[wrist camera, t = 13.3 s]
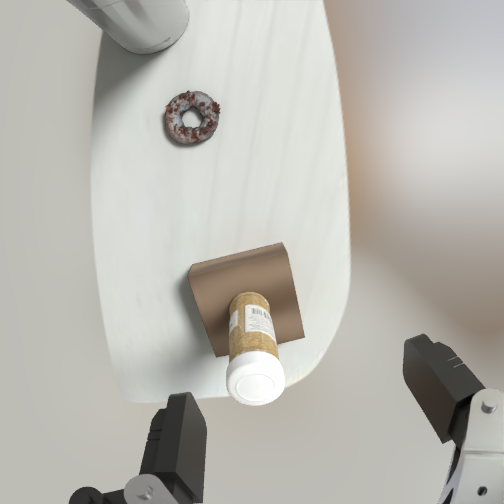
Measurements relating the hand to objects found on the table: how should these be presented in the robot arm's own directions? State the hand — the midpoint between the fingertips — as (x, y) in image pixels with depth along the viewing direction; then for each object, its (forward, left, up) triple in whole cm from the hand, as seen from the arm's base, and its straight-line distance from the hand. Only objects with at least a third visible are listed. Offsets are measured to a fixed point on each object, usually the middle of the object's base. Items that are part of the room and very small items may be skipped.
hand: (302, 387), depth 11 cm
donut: (-14, -5, -28) cm, 32 cm away
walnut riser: (+8, -3, -27) cm, 29 cm away
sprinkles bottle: (+8, -3, -24) cm, 25 cm away
